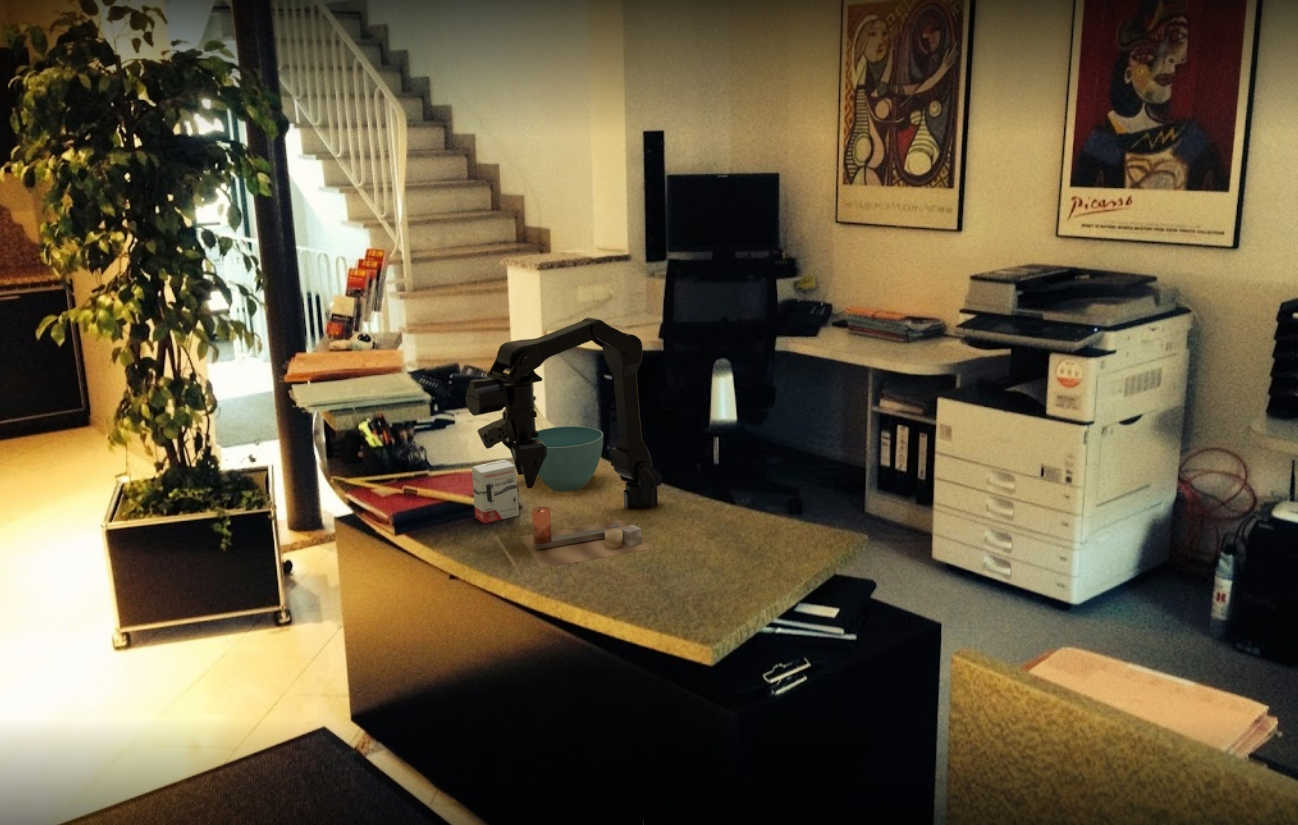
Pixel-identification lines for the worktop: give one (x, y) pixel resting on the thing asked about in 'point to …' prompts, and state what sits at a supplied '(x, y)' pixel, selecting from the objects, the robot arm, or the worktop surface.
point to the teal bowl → (569, 456)
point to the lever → (546, 540)
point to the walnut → (613, 538)
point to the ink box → (495, 491)
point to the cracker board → (586, 545)
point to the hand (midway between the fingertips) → (525, 481)
